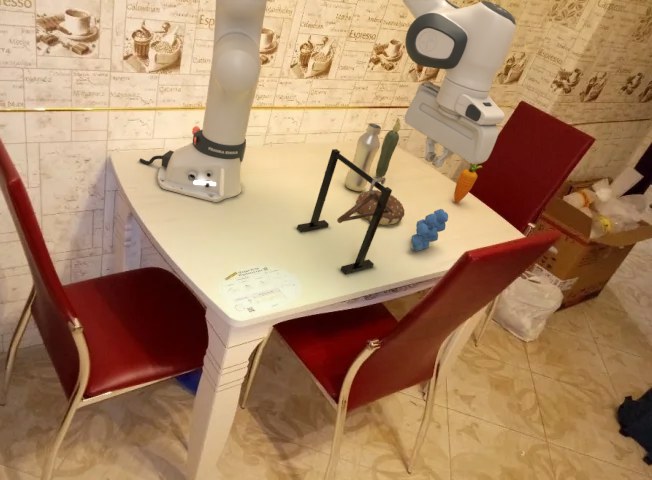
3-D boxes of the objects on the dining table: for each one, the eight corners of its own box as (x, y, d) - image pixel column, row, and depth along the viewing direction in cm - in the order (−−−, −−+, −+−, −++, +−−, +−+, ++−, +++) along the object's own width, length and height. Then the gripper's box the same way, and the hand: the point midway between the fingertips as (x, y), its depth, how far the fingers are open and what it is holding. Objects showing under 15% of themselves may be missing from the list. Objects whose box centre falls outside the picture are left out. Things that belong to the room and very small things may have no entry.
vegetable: (382, 183, 166) (405, 123, 154) (369, 179, 166) (391, 119, 155) (384, 177, 170) (406, 119, 158) (371, 173, 170) (392, 115, 158)
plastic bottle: (363, 196, 156) (386, 133, 144) (341, 189, 156) (362, 126, 144) (364, 187, 161) (386, 125, 149) (344, 180, 161) (364, 119, 149)
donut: (391, 205, 155) (397, 190, 152) (406, 230, 145) (412, 215, 142) (346, 199, 152) (352, 183, 149) (358, 224, 141) (364, 208, 138)
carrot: (457, 198, 169) (477, 156, 160) (466, 207, 166) (487, 164, 157) (445, 198, 167) (465, 156, 158) (453, 206, 164) (474, 163, 155)
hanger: (338, 224, 113) (352, 183, 107) (335, 221, 114) (349, 180, 108) (392, 214, 123) (408, 176, 117) (389, 211, 123) (404, 173, 117)
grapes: (421, 236, 144) (439, 198, 137) (440, 249, 140) (459, 211, 133) (395, 244, 137) (412, 205, 130) (414, 258, 134) (432, 219, 126)
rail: (345, 275, 121) (376, 193, 108) (296, 228, 132) (318, 149, 119) (372, 267, 126) (405, 188, 113) (323, 223, 137) (347, 147, 124)
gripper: (412, 77, 104) (388, 141, 112) (492, 120, 92) (459, 188, 101) (432, 77, 108) (408, 140, 116) (512, 119, 96) (478, 185, 104)
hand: (432, 163), depth 108 cm, fingers closed
